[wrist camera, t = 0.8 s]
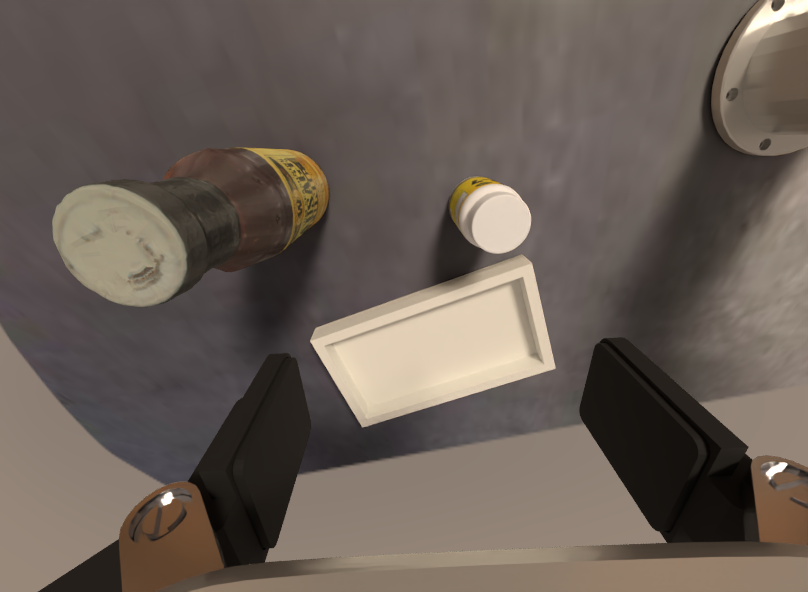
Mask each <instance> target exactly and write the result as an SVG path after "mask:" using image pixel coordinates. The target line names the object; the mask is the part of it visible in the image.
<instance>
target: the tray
mask: <svg viewBox="0 0 808 592" xmlns="http://www.w3.org/2000/svg"><path fill="white" fill-rule="evenodd" d="M310 342H311V344H312V345H313V347H314V348H315V350H316V352H317V353H318V355H319V357H320V358H321V360H322V362H323V363H324V365H325V367H326V368H327V370H328V372H329V373H330V375H331V377H332V378H333V380H334V381H335V383H336V385H337V386H338V388H339V390H340V391H341V393H342V395H343V396H344V398H345V400H346V401H347V403H348V405H349V406H350V408H351V410H352V411H353V413H354V414H355V416H356V418H357V419H358V421H359V423H360V424H361V426H362V428H363V427H366V426H369V425H372V424H376V423H379V422H382V421H385V420H389V419H392V418H395V417H399V416H402V415H405V414H408V413H412V412H415V411H418V410H421V409H425V408H428V407H431V406H434V405H438V404H441V403H444V402H448V401H451V400H454V399H457V398H461V397H464V396H467V395H470V394H474V393H477V392H480V391H483V390H487V389H490V388H493V387H497V386H500V385H503V384H506V383H510V382H513V381H516V380H519V379H523V378H526V377H529V376H532V375H536V374H539V373H542V372H546V371H549V370H552V369H555V364H554V359H553V355H552V350H551V346H550V341H549V337H548V333H547V328H546V324H545V319H544V315H543V310H542V306H541V301H540V297H539V292H538V288H537V284H536V279H535V275H534V270H533V266H532V263H531V262H530V261H529V260H528V259H527V258H526V257H525V256H523V255H522V254H521V255H519V256H516V257H513V258H510V259H507V260H505V261H502V262H499V263H496V264H493V265H491V266H488V267H485V268H482V269H479V270H477V271H474V272H471V273H468V274H465V275H463V276H460V277H457V278H454V279H451V280H449V281H446V282H443V283H440V284H437V285H435V286H432V287H429V288H426V289H423V290H421V291H418V292H415V293H412V294H409V295H407V296H404V297H401V298H398V299H395V300H393V301H390V302H387V303H384V304H381V305H379V306H376V307H373V308H370V309H367V310H365V311H362V312H359V313H356V314H353V315H350V316H348V317H345V318H342V319H339V320H336V321H334V322H331V323H328V324H325V325H322V326H320V327H317V328H315V331H314V333H313V335H312V338H311V340H310Z"/></svg>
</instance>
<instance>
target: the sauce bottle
mask: <svg viewBox="0 0 808 592" xmlns="http://www.w3.org/2000/svg"><path fill="white" fill-rule="evenodd" d="M328 201H329V185H328V183H327V180H326V177H325V175H324V173H323V172H322V170H321V168H320V166H319V165H318V164H317V163H316V162H314V161H313V160H311V159H310V158H309V157H308V156H306V155H304V154H302V153H300V152H297V151H293V150H284V149H262V148H228V149H212V148H207V149H204V150H201V151H198V152H195V153H192V154H190V155H188V156H186V157H184V158H182V159H181V160H179V161H178V162H177V163H176V164H174V165H173V166H172V167H171V168H170V169H169V170H168V171H167V173H166V174H165V176H164V179H163V180H162V181H160V182H153V183H146V182H142V181H138V180H126V179H123V180H111V181H105V182H101V183H93V184H89V185H85V186H82V187H79V188H77V189H75V190H73V191H71V192H70V193H68V194H67V195H66V196H65V197H64V199H63V201H61V202H60V203H59V204H58V205H57V206H56V212H55V214H54V216H53V238H54V242H55V244H56V246H57V248H58V251H59V253H60V255H61V257H62V259H63V261H64V263H65V265H66V267H67V268H68V269H69V271H70V272H71V273H72V274H73V275H74V276H75V277H76V278H77V279H78V280H79V281H80V282H81V283H82V284H83V285H84V286H86V287H87V288H89V289H91V290H93V291H95V292H97V293H98V294H99V295H101V296H102V297H104V298H106V299H108V300H110V301H112V302H115V303H119V304H123V305H127V306H139V307H148V306H152V305H158V304H162V303H165V302H168V301H169V300H172V299H173V298H175V297H176V296H178V295H180V294H182V293H184V292H186V291H188V290H189V289H191V288H192V287H193V286H194V285H195V284H196V283H197V282H198V281H200V279H201V278H202V276H203V274H204V273H206V272H207V271H208V270H210V269H212V268H216V269H220V270H222V271H225V272H234V271H238V270H240V269H243V268H246V267H248V266H251V265H253V264H256V263H259V262H261V261H264V260H266V259H269V258H272V257H274V256H276V255H278V254H279V253H281V252H282V251H283V250H284V249H286V248H287V247H288V246H289V245H290V244H292V243H293V242H294V241H295V240H296V239H298V238H299V237H300V236H302V234H304V233H305V232H306V231H307V230H308V229H309V228H310V227H312V226H313V225H314V224H315V223H316V222H317V221H319V220H320V218H321V217H322V215H323V214H324V212H325V210H326V207H327V204H328Z"/></svg>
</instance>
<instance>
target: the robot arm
mask: <svg viewBox="0 0 808 592" xmlns="http://www.w3.org/2000/svg"><path fill="white" fill-rule="evenodd" d="M711 108H712V116H713V121H714V124H715V126H716V129H717V132H718V133H719V135H720V136H721V137H722V139H723V140H724V142H725V143H727V144H728V145H729V146H731V147H732V148H733V149H735V150H737V151H740V152H742V153H744V154H750V155H758V156H777V155H782V154H788V153H792V152H795V151H797V150H800V149H803V148H806V147H808V0H759V1H758V2H757V3H756V4H755V5H754V6H753V7H752V8H751V9H750V10H749V11H748V13H747V14H746V16H745V17H744V18H743V20H742V21H741V22H740V24H739V25H738V27H737V28H736V29H735V31H734V33H733V35H732V36H731V38H730V40H729V42H728V44H727V45H726V47H725V49H724V51H723V54H722V56H721V59H720V61H719V64H718V67H717V69H716V73H715V78H714V82H713V86H712V97H711ZM579 410H580V416H581V419H582V421H583V422H584V424H585V425H586V427H587V428H588V430H589V431H590V433H591V434H592V436H593V438H594V439H595V441H596V442H597V444H598V445H599V447H600V448H601V450H602V451H603V453H604V455H605V456H606V458H607V459H608V461H609V462H610V464H611V465H612V467H613V468H614V470H615V471H616V473H617V475H618V476H619V478H620V479H621V481H622V482H623V484H624V485H625V487H626V488H627V490H628V492H629V493H630V495H631V496H632V497H633V499H634V501H635V502H636V504H637V505H638V507H639V508H640V510H641V512H642V513H643V515H644V516H645V518H646V519H647V521H648V522H649V524H650V525H651V526H652V528H654V529H655V530H656V531H660V533H661V534H662V536H663V537H664V539H665V540H666V542H667V543H656V544H629V545H602V546H576V547H554V548H553V547H552V548H528V549H505V550H481V551H459V552H437V553H418V554H396V555H376V556H355V557H336V558H321V559H308V560H292V561H277V562H265V560H266V556H267V553H268V550H269V548H274V547H275V545H276V543H277V541H278V538H279V534H280V531H281V527H282V524H283V521H284V517H285V514H286V510H287V507H288V504H289V501H290V497H291V494H292V491H293V487H294V484H295V481H296V477H297V474H298V471H299V467H300V464H301V461H302V457H303V454H304V451H305V447H306V444H307V441H308V437H309V434H310V429H311V420H310V416H309V411H308V407H307V403H306V398H305V394H304V390H303V385H302V381H301V377H300V372H299V368H298V364H297V360H296V358H291V356H290V354H288V353H283V354H270V355H268V356H267V358H266V360H265V361H264V363H263V365H262V366H261V368H260V370H259V371H258V373H257V375H256V376H255V378H254V380H253V381H252V383H251V385H250V387H249V388H248V390H247V392H246V393H245V395H244V397H243V398H241V399H240V400H238V401H237V402H236V404H235V405H234V407H233V408H232V410H231V412H230V413H229V415H228V417H227V418H226V420H225V421H224V423H223V425H222V426H221V428H220V430H219V431H218V433H217V435H216V436H215V438H214V439H213V441H212V443H211V444H210V446H209V448H208V449H207V451H206V453H205V454H204V456H203V457H202V459H201V461H200V462H199V464H198V466H197V467H196V469H195V471H194V472H193V474H192V475H191V477H190V479H189V480H188V482H176V483H172V484H168V485H166V486H164V487H161V488H159V489H157V490H155V491H154V492H152V493H151V494H149V495H148V496H146V497H145V498H144V499H143V500H142V501H141V502H139V503H138V504H137V505H136V506H135V507H134V508H133V510H132V511H131V512H130V513H129V514H128V516H127V517H126V519H125V521H124V523H123V525H122V527H121V529H120V534H119V539H118V540H117V541H115V542H114V543H112V544H111V545H109V546H108V547H106V548H104V549H103V550H102V551H100V552H98V553H97V554H95V555H94V556H92V557H91V558H89V559H88V560H86V561H85V562H83V563H82V564H80V565H78V566H77V567H75V568H74V569H72V570H71V571H69V572H68V573H66V574H65V575H63V576H61V577H60V578H58V579H57V580H55V581H54V582H52V583H51V584H49V585H48V586H46V587H45V588H43V589H41V590H40V591H38V592H808V467H805V466H803V465H801V464H799V463H796V462H794V461H791V460H788V459H784V458H781V457H775V456H767V455H766V456H758V457H756V458H755V459H753V460H752V459H750V457H748V456H747V455H746V454H745V452H746V451H747V449H748V446H747V445H746V444H745V443H743V442H742V441H741V440H740V439H739V438H738V437H736V436H735V435H734V434H733V433H732V432H731V431H730V430H729V429H728V428H726V427H725V426H724V425H723V424H722V423H720V421H719V420H717V419H716V418H715V417H714V416H713V415H712V414H711V413H709V412H708V411H707V410H706V409H705V408H704V407H703V406H702V405H700V404H699V403H698V402H697V401H696V400H695V399H694V398H693V397H691V396H690V395H689V394H688V393H687V392H686V391H685V390H684V389H682V388H681V387H680V386H679V385H678V384H677V383H676V382H674V381H673V380H672V379H671V378H670V377H669V376H668V375H667V374H665V373H664V372H663V371H662V370H661V369H660V368H659V367H658V366H656V365H655V364H654V363H653V362H652V361H651V360H650V359H649V358H647V357H646V356H645V355H644V354H643V353H642V352H641V351H639V350H638V349H637V348H636V347H635V346H634V345H633V344H632V343H630V342H629V341H628V340H627V339H625V338H604V339H602V340H601V341H600V343H598V344H596V345H595V348H594V352H593V356H592V360H591V364H590V368H589V372H588V376H587V380H586V384H585V388H584V392H583V396H582V400H581V404H580V409H579Z"/></svg>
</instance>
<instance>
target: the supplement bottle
mask: <svg viewBox="0 0 808 592" xmlns="http://www.w3.org/2000/svg"><path fill="white" fill-rule="evenodd" d="M449 213H450V216H451V218H452V220H453V221H454V223H455V224H456V226H457V227H458V228H459V230H460V231H461V233H462V234H463V236H464V237H465V238H466V239H467V240H468V241H469V242H470V243H471V244H473V245H475V246H477V247H480V248H481V249H483V250H485V251H487V252H490V253H495V254H499V253H505V252H508V251H511V250H513V249H514V248H516V247H518V246H519V245H520V244H521V243H522V242H523V241H524V239H525V238H526V236H527V234H528V232H529V230H530V226H531V215H530V211H529V209H528V207H527V205H526V204H525V203H524V202H523V201H522V199H521V197H520V196H519V195H518V194H517V193H516V192H515V191H514V190H513V189H511V188H510V187H508V186H506V185H503V184H501V183H498V182H496V181H493V180H491V179H489V178H486V177H480V176H476V177H470V178H467V179H465V180H463V181H462V182H460V183H459V184H458V185H457V186H456V187H455V189H454V190H453V192H452V194H451V196H450V199H449Z"/></svg>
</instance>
